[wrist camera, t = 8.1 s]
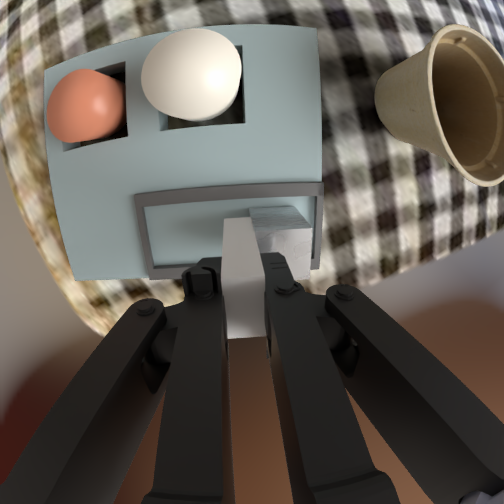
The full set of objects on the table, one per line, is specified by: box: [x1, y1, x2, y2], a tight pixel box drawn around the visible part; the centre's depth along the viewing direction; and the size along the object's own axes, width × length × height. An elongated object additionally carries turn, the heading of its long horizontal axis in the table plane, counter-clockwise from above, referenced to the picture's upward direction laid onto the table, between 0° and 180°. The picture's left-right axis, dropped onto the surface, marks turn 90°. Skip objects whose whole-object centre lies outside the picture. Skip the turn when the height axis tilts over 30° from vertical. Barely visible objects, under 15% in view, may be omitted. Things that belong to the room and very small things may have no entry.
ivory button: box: [141, 28, 241, 121], centre depth 11 cm, size 4×4×4 cm
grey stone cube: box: [249, 206, 313, 280], centre depth 15 cm, size 3×3×4 cm
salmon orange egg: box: [47, 69, 127, 143], centre depth 13 cm, size 4×4×4 cm
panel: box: [44, 24, 324, 281], centre depth 16 cm, size 16×18×3 cm
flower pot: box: [374, 24, 504, 187], centre depth 12 cm, size 9×9×9 cm
